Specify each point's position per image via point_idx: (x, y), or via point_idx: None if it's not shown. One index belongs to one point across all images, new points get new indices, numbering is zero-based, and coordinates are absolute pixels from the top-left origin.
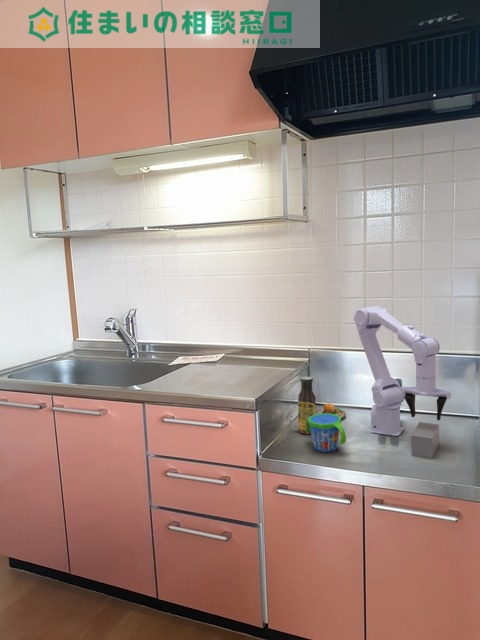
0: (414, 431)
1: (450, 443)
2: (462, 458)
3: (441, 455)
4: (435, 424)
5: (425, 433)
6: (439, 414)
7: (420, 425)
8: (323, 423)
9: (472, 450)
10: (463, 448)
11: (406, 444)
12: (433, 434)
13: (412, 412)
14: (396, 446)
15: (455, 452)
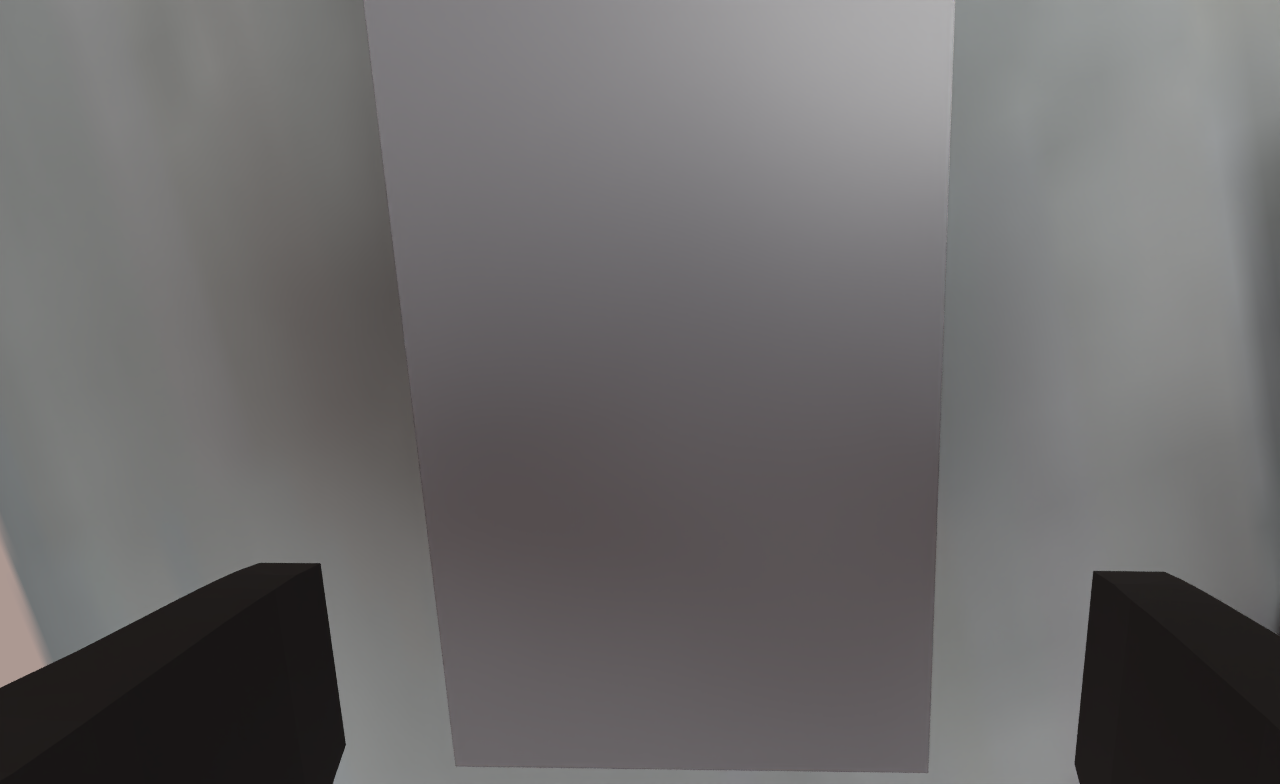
0: (932, 39)
1: (378, 611)
2: (19, 55)
3: (365, 29)
4: (530, 740)
5: (600, 9)
6: (114, 641)
7: (858, 555)
8: None
9: (3, 460)
10: (143, 487)
11: (1083, 285)
12: (378, 20)
13: (1204, 630)
14: (1268, 101)
15: (198, 271)
